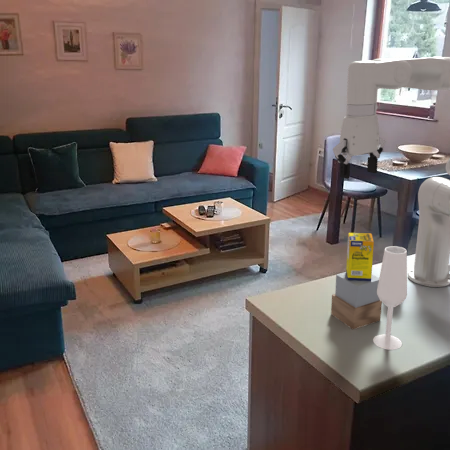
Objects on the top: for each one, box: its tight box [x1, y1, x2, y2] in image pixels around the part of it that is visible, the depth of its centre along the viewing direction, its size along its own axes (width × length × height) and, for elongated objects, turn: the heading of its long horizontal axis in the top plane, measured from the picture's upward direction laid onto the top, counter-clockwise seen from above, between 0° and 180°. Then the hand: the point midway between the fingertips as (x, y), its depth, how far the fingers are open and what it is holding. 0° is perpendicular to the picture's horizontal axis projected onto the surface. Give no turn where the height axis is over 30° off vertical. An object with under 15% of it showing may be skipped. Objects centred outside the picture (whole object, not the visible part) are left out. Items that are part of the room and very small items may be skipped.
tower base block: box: [330, 293, 383, 330], centre depth 129 cm, size 9×9×6 cm
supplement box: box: [345, 232, 375, 281], centre depth 125 cm, size 6×6×11 cm
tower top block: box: [334, 271, 380, 308], centre depth 127 cm, size 8×8×6 cm
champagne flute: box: [372, 245, 408, 351], centre depth 115 cm, size 7×7×24 cm
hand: (358, 174), depth 133 cm, fingers open, 9 cm apart
